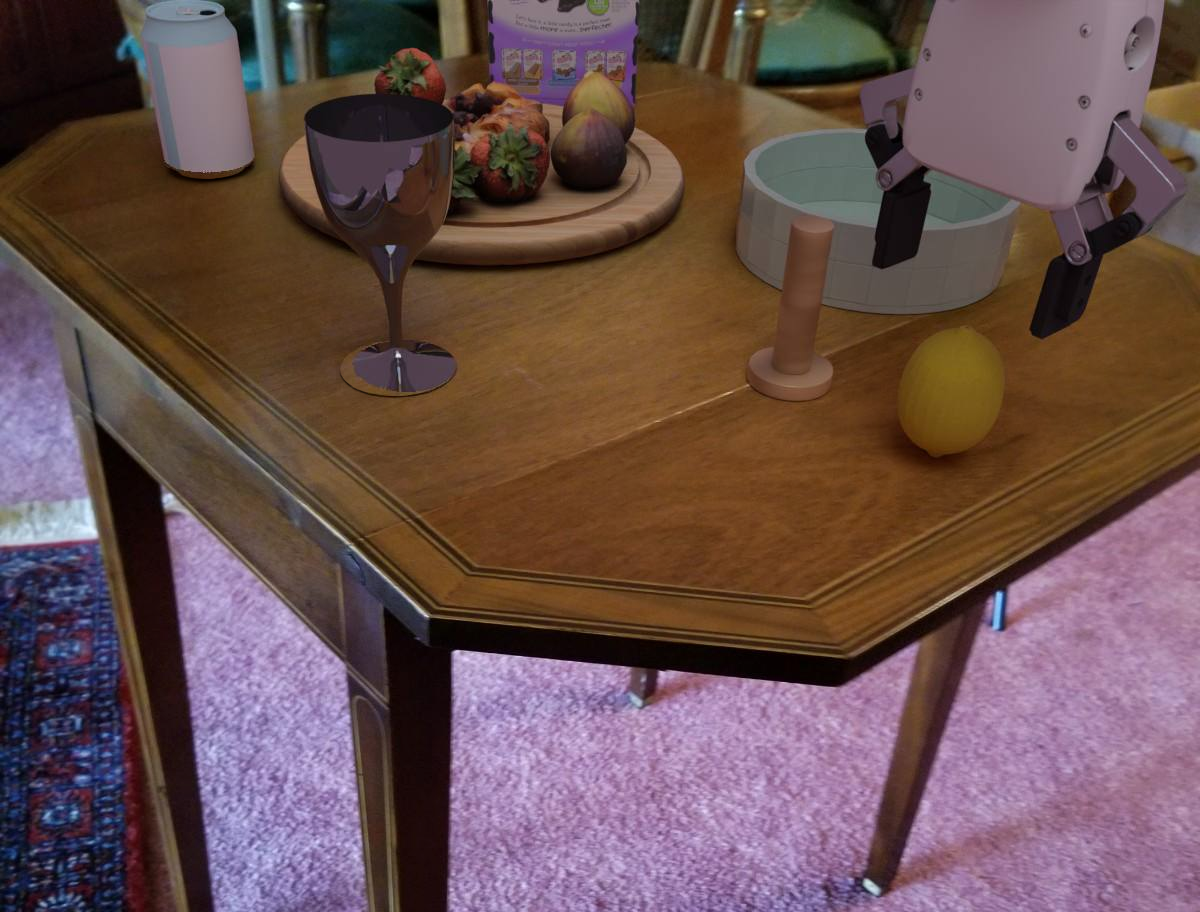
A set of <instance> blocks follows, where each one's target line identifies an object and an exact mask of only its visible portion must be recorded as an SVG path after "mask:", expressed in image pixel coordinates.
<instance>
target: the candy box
mask: <svg viewBox="0 0 1200 912" xmlns="http://www.w3.org/2000/svg"><path fill="white" fill-rule="evenodd" d="M486 2H487V4H486V8H487V35H488V40H487V41H488V73H489V82H488V83H489V84H491V83H492V82H493V81H495V82H498V83H504V84H506V85H508V86H510V87H512V88H514V89H515V90H516V91H517V93H518V94H519V95H520V97H523V98H526V99H531V100H536V101H538V102H540V103H543V104H551V105H557V106H563V107H564V103H565V101H566V99H567V97H568V94H569V92H570V91H571V90H572V89H573V87H574V86H575V85H576V83H577V82H578V81H579V80H580V79H581V77H582V76H583V75H584V74H585V73H587V72H588V71H593V72H599V73H601V74H603V75H604V76H606V77H607V78H609V79H610V80H612V81H613V82H614V83H615V84H616V85H617V86H618V87H619V88H620V89H621V90H622V91H623V93H624V94H625V95H626V97H627V98H628V100H629V102H630V103H631V105H632V107H633V109H635V108H636V107H635V106H636V92H637V91H636V89H637V63H638V61H637V60H638V40H639V37H638V35H639V14H640V0H486ZM489 84H488V85H489Z"/></svg>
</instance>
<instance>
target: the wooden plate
mask: <svg viewBox="0 0 1200 912" xmlns="http://www.w3.org/2000/svg"><path fill="white" fill-rule="evenodd" d="M377 67H378V68H380V71H379V73H378V74H377V75H376V76H375V79H374V83H373V86H374V94H400V95H408V96H415V97H420V98H425V99H428V100H432V101H435V102H437V103H440V104H442V105H444V106H445V107H447V108H448V109H449V110H450V111H451V112H452V114H453V118H454V135H455V169H454V179H453V188H452V194H451V199H450V204H449V209H448V212H447V215H446V218H445V220H444V223H443V224H442V226H441V228H440V229H439V231H438V232H437V234H436V235H435V236H434V237H433V238H432V239H431V241H430V242H429V243H428V244H427V245H426V246H425V248H424V249H423V250H422V251H421V252H420V254H419V255H418V256H417V257H416V258H415V260H416V261H424V262H433V263H440V264H451V265H467V266H468V265H470V266H499V265H507V266H512V265H526V264H527V265H528V264H540V263H550V262H558V261H565V260H572V259H577V258H583V257H584V258H585V257H589V256H592V255H597V254H601V253H604V252H608V251H611V250H614V249H617V248H621V247H623V246H625V245H629V244H631V243H632V242H636V241H638V240H640V239H642V238H643V237H645V236H647V235H649V234H651V233H653V232H655V231H656V230H658V229H659V228H660V227H662V226H663V225H664V224H665V223H667V222H668V221H669V220H670V219H671V218H672V217H673V215H674V214H675V212H676V211H677V210H678V208H679V207H680V205H681V203H682V201H683V197H684V193H685V189H686V187H685V186H686V179H685V176H684V171H683V169H682V166H681V164H680V162H679V160H678V158H676V155H674V153H673V152H672V151H671V150H670V149H669V148H668V147H667V146H665V144H663V143H662V142H661V141H659V140H658V139H656V138H654V137H653V136H652V135H651V134H649V133H647V132H646V131H644V130H641V129H639V128H637V127H635V126H636V115H635V110H634V108H633V107H632V105H631V103H630V102H629V100H628V98H627V97H626V95H625V94H624V93H623V91H622V90H621V89H620V88H619V87H618V86H617V85H616V84H615V83H614V82H613V81H612V80H610V79H609V78H607V77H606V76H604V75H603V74H601V73H599V72H593V71H588V72H587V73H585V74H584V75H583V76H582V77H581V79H580V80H579V81H578V82H577V83H576V85H575V86H574V87H573V89H572V90H571V91H570V92H569V94H568V97H567V99H566V101H565V103H564V107H563V106H557V105H551V104H543V103H540V102H538V101H536V100H531V99H526V98H523V97H520V95H519V94H518V93H517V91H516V90H515V89H514V88H512V87H510V86H508V85H506V84H504V83H498V82H495V81H493V82H492V83H491V84H488V85H487V87H486V88H484V86H483V83H481V82H480V83H479V82H478V83H474V84H473V85H472V86H470V87H469V88H467V89H465V90H463V91H462V92H458V93H457V94H455V96H453V97H451V98H450V99H445V97H446V93H447V85H446V82H445V78H444V77H443V75H442V73H441V71H440V69H439V67H438V64H437V63H436V62H435V61H434V59H433V58H432V57H431V56H430V55H429V54H428V53H427V52H424V51H421V50H420V49H418V48H417V47H416V48H415V47H410V48H402V49H401V50H399V51H397V52H396V53H395V54H391V55H390V57H389V62H387V63H386V65H385V66H383V65H377ZM278 184H279V188H280V191H281V194H282V195H283V197H284V199H285V201H286V203H287V204H288V206H289V207H290V208H291V210H293V211H294V213H295V214H296V215H297V216H299V217H300V218H301V219H302V220H303V221H304V222H305V223H307V224H308V225H310V226H311V227H313V228H315V229H316V230H318V231H320V232H322V233H324V234H326V235H328V236H330V237H332V238H334V239H336V240H339V241H342V242H344V243H346V242H345V241H344V240H343V239H342V238H341V237H340V236H339V235H338V234H337V233H336V231H335V230H334V229H333V228H332V226H331V225H330V224H329V222H328V220H327V218H326V216H325V214H324V212H323V209H322V206H321V203H320V200H319V198H318V195H317V191H316V188H315V184H314V180H313V176H312V173H311V169H310V163H309V157H308V151H307V145H306V136H305V135H303V136H302V137H300V138H299V139H298V140H296V142H295V143H293V145H292V146H291V147H290V148H289V149H288V151H287V152H286V153H285V155H284V156H283V157H282V160H281V163H280V165H279V171H278Z"/></svg>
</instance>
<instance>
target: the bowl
mask: <svg viewBox="0 0 1200 912" xmlns="http://www.w3.org/2000/svg"><path fill="white" fill-rule="evenodd" d="M866 131H867V128H866V129H863V128H827V129H826V128H823V129H814V130H806V131H800V132H799V131H798V132H792V133H787V134H785V135H781V136H778V137H773V138H771V139H768V140H766V141H765V142H763V143H761V144H759V145H758V146H756V147H754V148H752V149H750V151H749V153H748V154H747V156H746V157H745V158H744V160H743V165H742V175H741V183H740V193H739V201H738V210H737V219H736V227H735V228H736V229H735V250H736V253H737V256H738V258H739V260H740V262H741V263H742V264H743V265H744V266H745V268H746V269H747V270H748V271H749V272H751V274H753V275H754V276H755V277H756V278H758V279H760V280H761V281H763V282H765V283H766V284H768V285H770V286H772V287H774V288H775V289H778V290H780V291H782V286H783V279H784V272H785V265H786V258H787V251H788V244H789V237H790V230H791V223H792V220H793V219H794V218H796V217H800V216H818V217H822V218H825V219H828V220H830V221H831V222H832V223H833V224H834V230H833V236H832V242H831V248H830V254H829V260H828V267H827V273H826V279H825V285H824V291H823V297H822V303H821V305H824V306H827V307H831V308H838V309H842V310H847V311H848V310H849V311H853V312H854V311H855V312H862V313H871V314H882V315H922V314H932V313H940V312H946V311H951V310H955V309H959V308H964V307H966V306H969V305H972V304H974V303H976V302H979V301H981V300H983V299H984V298H986V297H988V296H989V295H990V294H991V293H993V292H994V291H995V290H996V288H997V287H998V286H999V285H1000V283H1001V280H1002V277H1003V275H1004V273H1005V268H1006V266H1007V265H1006V264H1007V261H1008V257H1009V252H1010V249H1011V245H1012V242H1013V237H1014V234H1015V231H1016V226H1017V223H1018V220H1019V216H1020V211H1021V207H1022V204H1023V203H1021V202H1018V201H1015V200H1013V199H1010V198H1007V197H1004V196H1002V195H999V194H996V193H993V192H991V191H988V190H985V189H983V188H980V187H977V186H974V185H972V184H969V183H966V182H964V181H961V180H958V179H956V178H953V177H950V176H948V175H945V174H942V173H940V172H937V171H935V170H932V171H931V172H929V173H928V174H927V175H926V176H925V177H924V181H925V182H928V183H930V184H931V187H930V189H931V196H930V201H929V205H928V210H927V214H926V218H925V223H924V227H923V232H922V236H921V240H920V245H919V249H918V253H917V255H916V256H915V257H914V258H911V259H909V260H906V261H904V262H901V263H899V264H896V265H894V266H891V267H889V268H885V269H882V270H881V269H879V268H877V267H875V266H873V265H872V259H873V254H874V250H875V245H876V242H875V232H876V227H877V222H878V217H879V212H880V207H881V202H882V197H883V192H884V190H881V189H880V188H879V187H878V186H877V183H876V173H877V171H878V169H877V167H876V165H875V163H874V161H873V158H872V156H871V154H870V152H869V150H868V147H867V145H866V142H865V133H866Z"/></svg>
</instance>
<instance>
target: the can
mask: <svg viewBox="0 0 1200 912" xmlns="http://www.w3.org/2000/svg"><path fill="white" fill-rule="evenodd" d="M225 9H226V8H225V7H224V6H223V5H221V4H219V3H218V2H214V1H210V0H165V1H161V2H157V3H154V4H151V5H149V6H147V7H146V8H145V10H144V14H145V17H146V19H145V21H144V23H143V25H142V28H141V30H140V34H139V36H140V41H141V46H142V47H141V48H142V51H143V56H144V57H143V58H144V61H145V67H146V72H147V77H148V82H149V88H150V92H151V98H152V103H153V108H154V115H155V118H156V123H157V128H158V129H157V130H158V134H159V139H160V145H161V150H162V156H163V160H165V161H164V163H165V162H166V163H167V164H169V165H170V166H172V167H174V168H176V169H179V170H180V169H181V170H184V171H191V172H203V173H205V172H206V173H207V172H209V173H210V172H221V171H229V170H234V169H237V168H240V167H243V166H244V165H246V164H248V163H250V162H251V161H252V160H253V158H254V156H255V149H254V143H253V135H252V129H251V123H250V117H249V109H248V102H247V95H246V87H245V81H244V80H245V79H244V73H243V66H242V60H241V54H240V47H239V40H238V32H237V30H236V28H235V26H234V25H233V24H232V23H231V21H230V20H229V19H228V17H227V16H226V14H225ZM254 159H255V158H254ZM253 161H254V160H253Z"/></svg>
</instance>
